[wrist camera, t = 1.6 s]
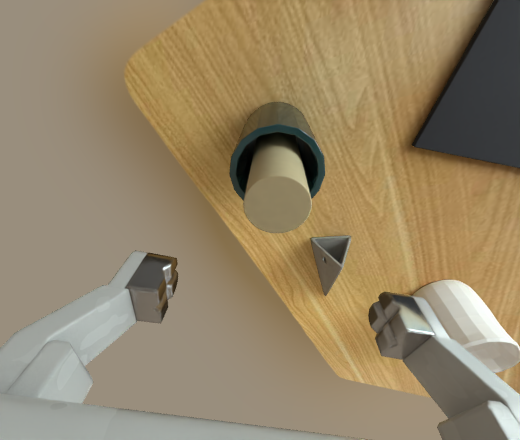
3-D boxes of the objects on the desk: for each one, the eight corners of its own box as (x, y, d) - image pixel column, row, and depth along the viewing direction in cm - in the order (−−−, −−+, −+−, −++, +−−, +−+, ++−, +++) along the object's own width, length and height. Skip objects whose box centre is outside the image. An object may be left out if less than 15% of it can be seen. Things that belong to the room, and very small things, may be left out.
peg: (260, 115, 23) (248, 169, 12) (300, 123, 23) (321, 183, 12) (254, 154, 25) (239, 227, 15) (290, 161, 25) (300, 238, 15)
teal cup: (248, 95, 22) (235, 115, 15) (318, 109, 23) (339, 136, 15) (239, 163, 26) (225, 205, 19) (299, 174, 27) (308, 219, 19)
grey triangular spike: (358, 293, 38) (368, 247, 29) (337, 310, 37) (340, 268, 28) (333, 269, 42) (335, 222, 33) (313, 283, 41) (309, 239, 32)
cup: (433, 271, 35) (479, 335, 27) (489, 285, 36) (550, 350, 28) (395, 306, 40) (424, 368, 32) (445, 317, 41) (485, 380, 33)
